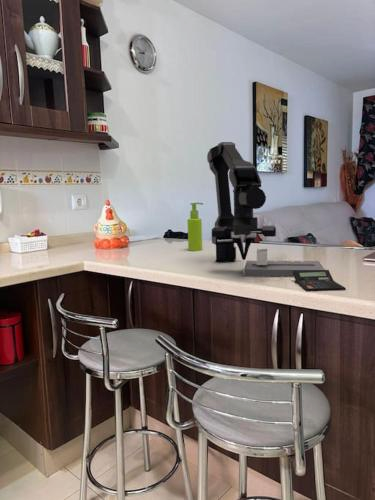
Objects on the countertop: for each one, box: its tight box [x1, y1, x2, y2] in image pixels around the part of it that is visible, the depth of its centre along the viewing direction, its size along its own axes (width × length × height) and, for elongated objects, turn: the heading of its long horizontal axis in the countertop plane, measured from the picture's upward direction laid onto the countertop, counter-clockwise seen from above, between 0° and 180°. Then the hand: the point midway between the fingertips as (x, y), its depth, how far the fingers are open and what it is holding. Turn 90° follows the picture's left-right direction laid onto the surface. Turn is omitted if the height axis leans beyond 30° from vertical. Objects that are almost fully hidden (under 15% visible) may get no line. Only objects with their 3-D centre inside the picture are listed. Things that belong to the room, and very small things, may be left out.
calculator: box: [293, 269, 347, 292], centre depth 97 cm, size 9×12×3 cm
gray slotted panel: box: [243, 260, 326, 278], centre depth 114 cm, size 22×14×2 cm, turn 78°
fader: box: [256, 248, 268, 265], centre depth 114 cm, size 3×6×4 cm, turn 168°
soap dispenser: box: [186, 202, 204, 252], centre depth 161 cm, size 6×7×20 cm
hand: (244, 259), depth 116 cm, fingers closed
